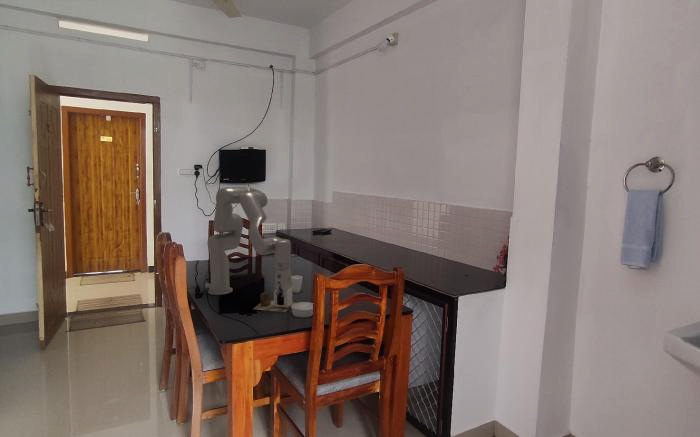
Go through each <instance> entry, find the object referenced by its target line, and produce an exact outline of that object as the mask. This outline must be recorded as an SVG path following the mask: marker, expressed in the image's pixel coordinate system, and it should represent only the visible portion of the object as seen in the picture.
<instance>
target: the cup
mask: <svg viewBox="0 0 700 437" xmlns="http://www.w3.org/2000/svg"><path fill="white" fill-rule="evenodd" d="M291 278H292V286H291V287H292V293H298V294H299V293H300V292H301V289H302V285H303V276H302V275H291Z"/></svg>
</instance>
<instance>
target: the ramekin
mask: <svg viewBox="0 0 700 437" xmlns="http://www.w3.org/2000/svg"><path fill="white" fill-rule="evenodd" d="M313 304H314V303H313V302H309V301H298V302H295V303H294V304H293V305H292V306H291V307H290V308H291V314H292V316H293V317H295V318H296V317H297V318H310V317H313V316H314V315H313ZM312 315H313V316H312Z"/></svg>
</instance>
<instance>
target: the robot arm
mask: <svg viewBox="0 0 700 437" xmlns="http://www.w3.org/2000/svg"><path fill="white" fill-rule="evenodd" d="M215 204H216V205H215V211H214V218H213V219H214V220H213V224H212V225H213V230H214V232H216V234H213V235H211V236H210V237H209V238H208V239H207V248H208V252H209V264H210V266H209V268H210V282H209V283H208V282H206V283H205V285H204V287H205V288H208V290H207V293H208V294H209V295H213V296H221V295H222V296H223V295H227V294H230V293H232V292H233V288H232V287H230V262H229V260H230V259H229V257H228V254H227V253H226V251H230V250H235V249H238V247H239V246H240V244H241V238H242V233H243V227H244V221H243V218H242V216H241V215H240V214H238V213H233V211H234V210H233V204H235V205H236V204H240V206H241V207H242V210H243V212H244V214H245V215H246V218H247V220H248V221H249V225H250V226H249V228H248V239H249V242H250V244H251V246H252V248H253V250H254V251H255V252H256V253H257V254H258V255H260V256H265V255H268V254H269V255H270V254H274V270H275V277H274V278H275V279H274V280H275V282H274V287H275V289H276V294H277V305H284V297H283V291H286V290H287V289H289V288H290V287H291V286H292V278H291V276H292V258H291V256H292V255H291V252H292V248H291V247H292V246H291V244H292V243H291V240H290V239H288V238H287V239H286V238H281V237H278V236H272V237H265V238H262V235H261V234H260V231H259V227H260V225H262V224H263V223H264V222H266V220H267V215H266V212H265V210H264V209H263V208H264V207H266V206H267V204H268V197H267V194H266V193H265V192H263V191H261V190H259V189H256V188H252V187H250V186H228V187H221V188H220V189H219V190H218V191H217V192H216V195H215ZM275 289H274V290H275ZM280 289H282V290H280ZM280 291H281V292H282V293H281V292H280Z"/></svg>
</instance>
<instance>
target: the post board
mask: <svg viewBox="0 0 700 437" xmlns="http://www.w3.org/2000/svg"><path fill="white" fill-rule="evenodd" d="M259 298H260V303H259V304H258V305H256V306H255V307H253V308H252V310H258V311H259V310H260V311H267V312H268V311H269V312H270V311H271V312H281V313H286V312H287V311H288V310H289V309H290V308H291V306H292V305H293V304H295V303H296V302H295V301H294V302H293V301H292V304H291V305H290V306H288V307H286V308H280V307H276V306H274V300H272V296H271V292H262V293H260V297H259Z"/></svg>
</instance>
